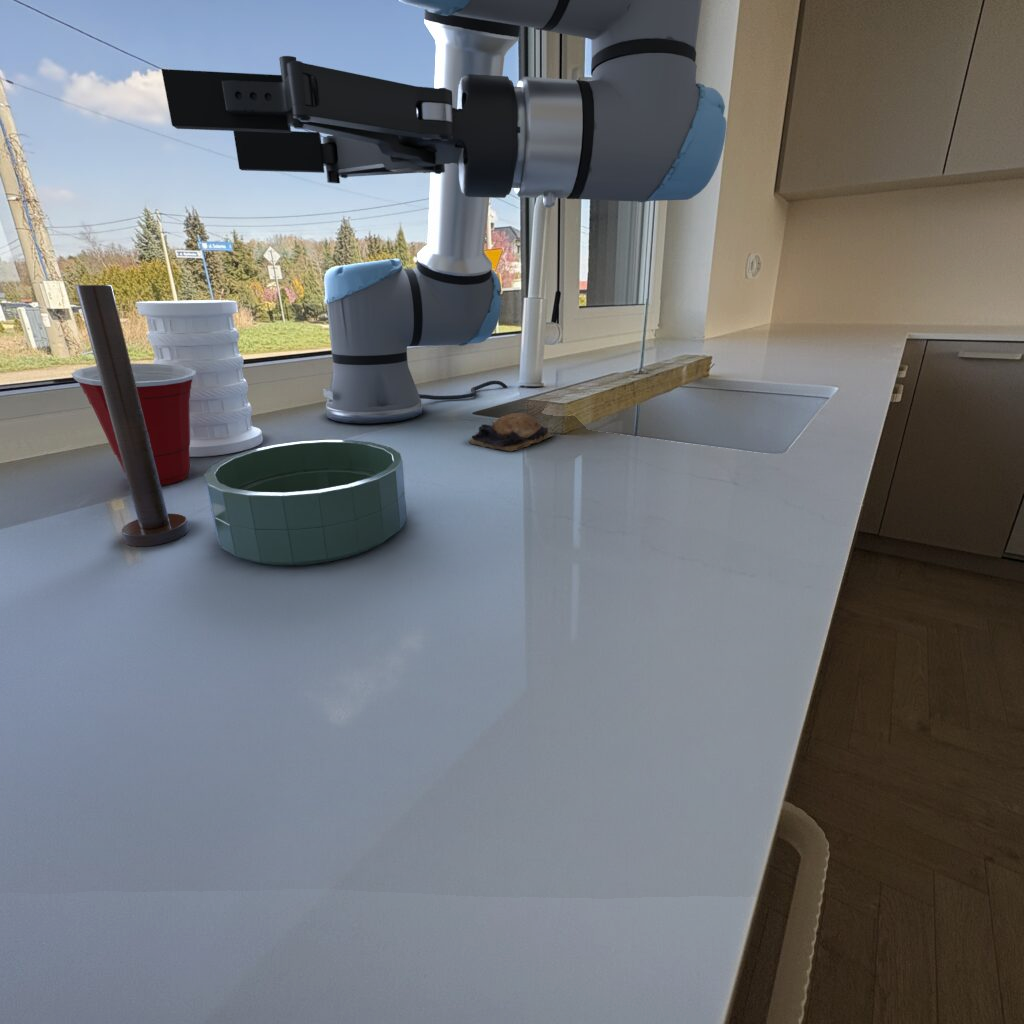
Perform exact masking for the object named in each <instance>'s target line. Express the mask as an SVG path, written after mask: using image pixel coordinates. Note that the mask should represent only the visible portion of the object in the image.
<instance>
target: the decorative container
mask: <svg viewBox="0 0 1024 1024" xmlns="http://www.w3.org/2000/svg"><path fill="white" fill-rule="evenodd" d="M135 303H136V308H137V314H138V315H140V316H143V317H145V319H146V324H147V327H148V331H147V336H146V338H147V341H148V342H149V345H151V346H152V349H153V354H154V358H153V364H163V365H176V366H181V367H186V368H190V369H192V370H194V371H196V375H195V377H194V379H193V380H192V383H191V390H190V399H189V412H190V446H189V455H190V457H192V458H193V457H194V458H195V457H196V458H198V457H200V458H201V457H213V456H223V455H230V454H234V453H239V452H244V451H248V450H251V449H254V448H255V447H257V446H259V445H260V444H263V441H264V438H263V431H262V430H261V429H260V428H259V427H256V426H253V421H252V418H251V417H252V415H253V407H252V406H251V403H250V402H249V399H248V394H247V392H248V391H249V385H248V384H249V383H248V381H247V380H246V379H245V376H244V371H243V367H244V361H245V360H244V357H243V355H242V354H241V353H240V349H239V343H238V342H240V332H239V330H238V329H237V328H236V326H235V325H236V324H235V320H234V315H235V314H237V313H238V312H239V307H238V302H237V301H236V300H225V299H224V300H223V299H221V300H219V299H218V300H217V299H216V300H215V299H214V300H211V299H210V300H208V299H207V300H206V299H205V300H203V299H201V300H197V299H196V300H195V299H194V300H193V299H192V300H152V301H151V300H149V301H136V302H135Z"/></svg>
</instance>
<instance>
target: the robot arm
mask: <svg viewBox="0 0 1024 1024" xmlns="http://www.w3.org/2000/svg"><path fill="white" fill-rule="evenodd" d="M397 1H398V2H399V3H401V4H405V5H408V6H413V7H415V8H419V9H424V16H423V17H424V25H425V26H426V28H427V29H428V31H429V33H430V34H431V35H432V37H433V39H434V42H435V65H434V87H429V86H417V85H412V84H406V83H402V82H397V81H392V80H388V79H383V78H378V77H374V76H370V75H369V76H368V75H363V74H359V73H354V72H349V71H344V70H339V69H334V68H329V67H324V66H320V65H315V64H310V63H305V62H302V61H300V60H297V57H296V56H291V55H282V56H280V57H279V58H278V60H279V67H280V74H269V73H267V74H266V73H250V72H249V73H246V72H231V71H230V72H229V71H208V70H190V69H171V68H170V69H169V68H161V75H162V80H163V85H164V91H165V97H166V100H167V101H166V102H167V107H168V111H169V117H170V122H171V123H170V124H171V126H172V127H174V128H175V129H177V130H199V131H200V130H202V131H222V132H223V131H225V132H226V131H227V132H233V137H234V143H235V149H236V157H237V164H238V169H239V170H240V171H247V172H248V171H249V172H251V171H252V172H255V171H256V172H281V173H282V172H283V173H284V172H285V173H318V174H324V173H325V174H326V182H327V183H328V184H341V179H348V178H352V177H353V178H355V177H368V176H385V175H386V176H387V175H401V174H402V175H403V174H430V179H429V201H428V202H429V205H428V225H427V244H426V245H425V246H424V247H422V248H421V249H420V250H419V251H418V252H417V255H416V268H403V263H402V262H401V260H400V259H399V258H391V259H381V260H373V261H365V262H359V263H350V264H344V265H336V266H332V267H330V268H328V270H326V272H325V274H324V278H323V279H324V281H323V282H324V300H323V301H324V304H326V310H327V319H328V320H327V321H328V329H329V340H330V348H331V358H332V373H331V378H330V383H329V388H328V390H327V389H325V388H323V389H322V391H323V397H324V398H327V399H326V403H325V409H326V416H327V418H328V419H329V420H331V421H335V422H338V423H339V422H340V423H345V424H346V423H347V424H384V423H393V422H399V421H400V422H401V421H405V420H410V419H413V418H416V417H418V416H419V415H421V414H422V412H423V408H422V407H423V406H422V405H423V404H422V399H424V400H433V401H444V400H445V401H446V400H447V401H449V400H463V399H470V398H474V397H475V396H477V393H478V392H477V391H478V390H481V389H483V388H486V387H488V386H492V385H498V386H501V387H502V388H503V389H508V387H509V386H508V385H507V384H506V383H504V382H503V381H500V380H490V381H486V382H483V383H481V384H478V385H475V386H473V387H471V388H470V392H471V393H470V392H469V393H464V394H463V393H462V394H454V395H453V394H452V395H432V394H422V393H420V394H419V391H418V389H417V386H416V383H415V380H414V378H413V375H412V372H411V370H410V368H409V363H408V347H433V346H437V347H438V346H460V347H462V346H467V345H471V344H481V343H484V342H485V341H486V340H488V339H490V337H491V336H492V335H493V334H494V332H495V330H496V328H497V325H498V323H499V319H500V315H501V311H502V301H503V298H502V297H501V293H502V283H501V280H500V278H499V275H498V274H497V273H496V272H495V270H493V262H492V261H491V259H490V258H489V256H488V255H487V254H486V253H485V246H486V245H485V244H486V243H485V242H486V235H487V224H488V217H489V206H490V198H494V199H495V198H496V199H505V198H506V197H507V196H508V195H510V193H511V192H512V189H513V190H514V193H515V195H517V196H518V198H529V199H530V198H532V199H535V198H537V199H538V198H539V197H540V196H543V197H542V204H543V206H544V207H545V208H552V207H554V206H555V205H556V199H566V200H589V201H613V202H614V201H615V202H636V203H637V202H638V203H646V202H658V201H685V200H686V201H687V200H690V199H693V198H694V197H695V196H697V195H699V194H700V193H701V192H702V191H704V189H705V188H706V187H707V186H708V185H709V183H710V182H711V179H712V178H713V176H714V175H715V172H716V171H717V168H718V165H719V163H720V160H721V157H722V154H723V150H724V145H725V140H726V133H727V119H726V117H725V116H724V114H725V109H726V106H725V102H724V98H723V96H722V94H721V93H720V92H719V91H718V90H717V89H716V88H714V87H711V86H709V87H708V86H705V85H704V84H702V83H699V82H697V78H696V77H697V63H696V61H697V60H696V59H697V50H696V47H697V41H698V40H697V38H698V31H699V24H700V16H701V7H702V0H397ZM521 27H525V28H526V27H527V28H532V29H535V30H537V31H544V32H551V33H556V34H562V35H567V36H573V37H579V38H583V39H588V40H591V43H590V44H591V52H590V53H591V64H590V75H591V80H583V79H567V78H555V77H554V78H553V77H552V78H551V77H540V76H539V77H537V76H536V77H535V76H522V77H521V78H520V79H519V80H518V82H517V84H516V86H515V85H514V82H513V80H511V79H510V78H509V76H507V75H503V74H504V64H505V56H506V54H507V52H508V51H509V50H510V49H511V48H512V47H513V46H514V45H515V44H516V43H517V42H518V41H519V38H520V31H521ZM291 127H292V128H294V130H292V128H291ZM297 130H298V131H297ZM299 130H306V131H299ZM321 134H325V135H326V136H323V137H322V136H321ZM321 137H322V138H321ZM340 178H341V179H340Z"/></svg>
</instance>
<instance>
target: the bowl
mask: <svg viewBox="0 0 1024 1024" xmlns="http://www.w3.org/2000/svg"><path fill="white" fill-rule="evenodd" d="M403 463H404V461H403V458H402V455H401V453H400V452H398V451H397V450H395V449H394V448H392V447H390V446H387V445H383V444H379V443H376V442H370V441H360V440H353V439H352V440H351V439H323V440H321V439H320V440H302V441H295V442H294V441H293V442H287V443H279V444H274V445H268V446H263V447H259V448H253V449H248V450H245V451H242V452H241V453H237V454H234V455H231V456H228V457H225V458H224V459H222V460H219V461H218V462H216V463H214V464H213V465H210V467H208V469H207V471H206V472H205V473H204V474H203V481H204V484H205V491H206V495H207V500H208V504H209V509H210V513H211V518H212V522H213V527H214V531H215V536H216V540H217V542H218V544H219V547H220V548H221V549H222V550H223V551H225V552H227V553H229V554H231V555H232V556H234V557H237V558H240V559H244V560H247V561H250V562H253V563H257V564H263V565H272V566H305V565H306V566H307V565H315V564H316V565H317V564H322V563H328V562H334V561H338V560H343V559H346V558H350V557H353V556H357V555H359V554H362V553H365V552H368V551H369V550H372V549H374V548H375V547H378V546H379V545H381V544H383V543H384V542H386V541H387V540H388V539H390V538H391V537H392V536H394V535H395V534H396V533H398V532H399V531H401V530H402V528H403V526H404V524H405V522H406V521H407V520H408V519H407V516H408V515H407V503H406V502H407V501H406V491H405V476H404V464H403Z"/></svg>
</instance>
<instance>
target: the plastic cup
mask: <svg viewBox="0 0 1024 1024" xmlns="http://www.w3.org/2000/svg"><path fill="white" fill-rule="evenodd" d="M131 367H132V371H133V375H134V379H135V383H136V387H137V391H138V395H139V399H140V403H141V407H142V411H143V416H144V420H145V424H146V428H147V432H148V436H149V440H150V444H151V448H152V452H153V456H154V460H155V464H156V469H157V473H158V477H159V481H160V485H161V486H165V485H170V484H174V483H175V484H176V483H178V482H180V481H183V480H185V479H186V478H188V477H189V476H190V469H191V460H190V459H191V458H190V455H189V446H190V412H189V399H190V390H191V383H192V380H193V379H194V377H195V375H196V371H194V370H192V369H190V368H186V367H181V366H176V365H163V364H154V363H131ZM70 374H71V376H72V378H73V380H75V382H77V383H78V385H79V386H80V387H81V388H82V391H83V394H84V395H85V396H86V398H87V401H88V403H89V404H90V405H91V407H92V409H93V412H94V414H95V416H96V417H97V420H98V422H99V425H101V426H100V427H101V428H102V430H103V433H104V434H105V437H106V439H107V441H108V443H109V446H110V447H111V450H112V452H113V454H114V455H115V456H116V458H117V460H118V462H119V464H120V466H121V468H122V472H123V473H124V475H125V476H126V474H125V470H124V466H123V462H122V459H121V455H120V451H119V447H118V444H117V440H116V436H115V433H114V429H113V425H112V421H111V418H110V414H109V410H108V406H107V403H106V399H105V395H104V391H103V388H102V384H101V380H100V377H99V373H98V369H97V365H93V366H88V367H83V368H79V369H76V370H74V371H73V372H71V373H70Z"/></svg>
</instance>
